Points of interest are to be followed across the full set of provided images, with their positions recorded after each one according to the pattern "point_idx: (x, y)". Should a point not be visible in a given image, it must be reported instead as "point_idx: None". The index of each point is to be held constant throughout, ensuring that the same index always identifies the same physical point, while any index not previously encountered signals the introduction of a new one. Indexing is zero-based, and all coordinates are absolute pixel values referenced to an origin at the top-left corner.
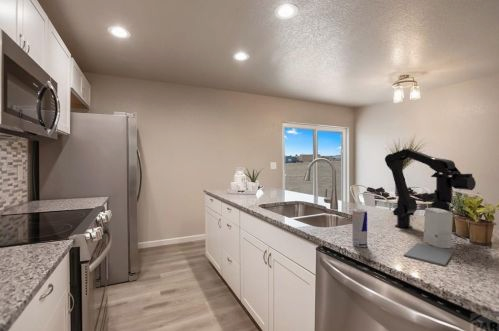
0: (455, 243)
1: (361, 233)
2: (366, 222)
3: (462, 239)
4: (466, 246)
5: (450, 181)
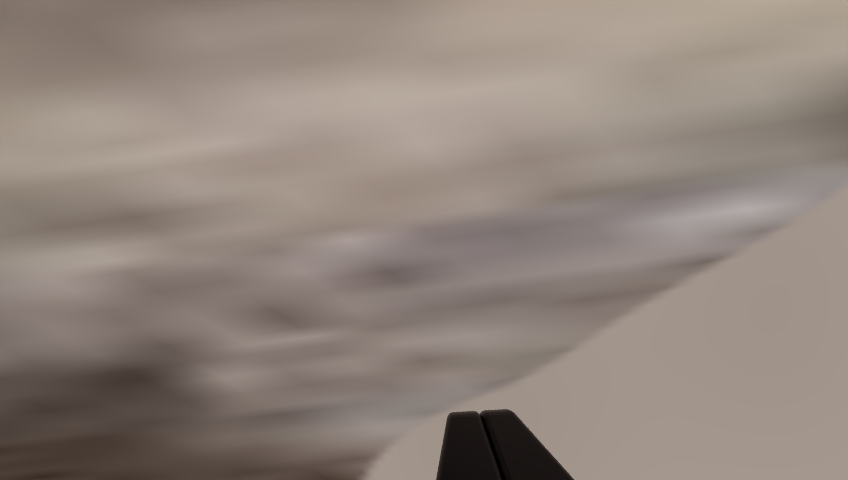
0: (156, 351)
1: None
2: None
3: (498, 372)
4: (122, 454)
5: None
